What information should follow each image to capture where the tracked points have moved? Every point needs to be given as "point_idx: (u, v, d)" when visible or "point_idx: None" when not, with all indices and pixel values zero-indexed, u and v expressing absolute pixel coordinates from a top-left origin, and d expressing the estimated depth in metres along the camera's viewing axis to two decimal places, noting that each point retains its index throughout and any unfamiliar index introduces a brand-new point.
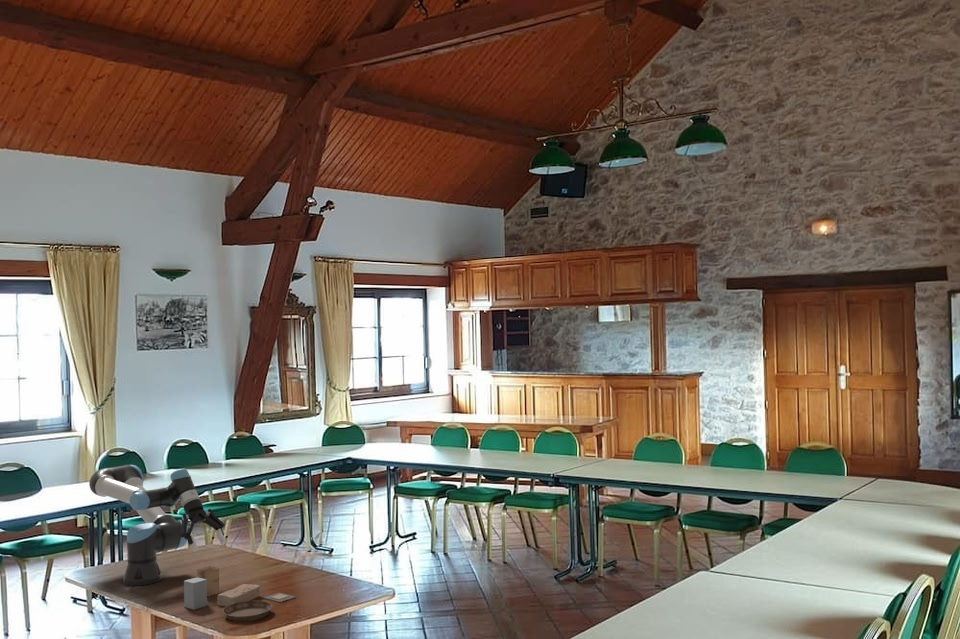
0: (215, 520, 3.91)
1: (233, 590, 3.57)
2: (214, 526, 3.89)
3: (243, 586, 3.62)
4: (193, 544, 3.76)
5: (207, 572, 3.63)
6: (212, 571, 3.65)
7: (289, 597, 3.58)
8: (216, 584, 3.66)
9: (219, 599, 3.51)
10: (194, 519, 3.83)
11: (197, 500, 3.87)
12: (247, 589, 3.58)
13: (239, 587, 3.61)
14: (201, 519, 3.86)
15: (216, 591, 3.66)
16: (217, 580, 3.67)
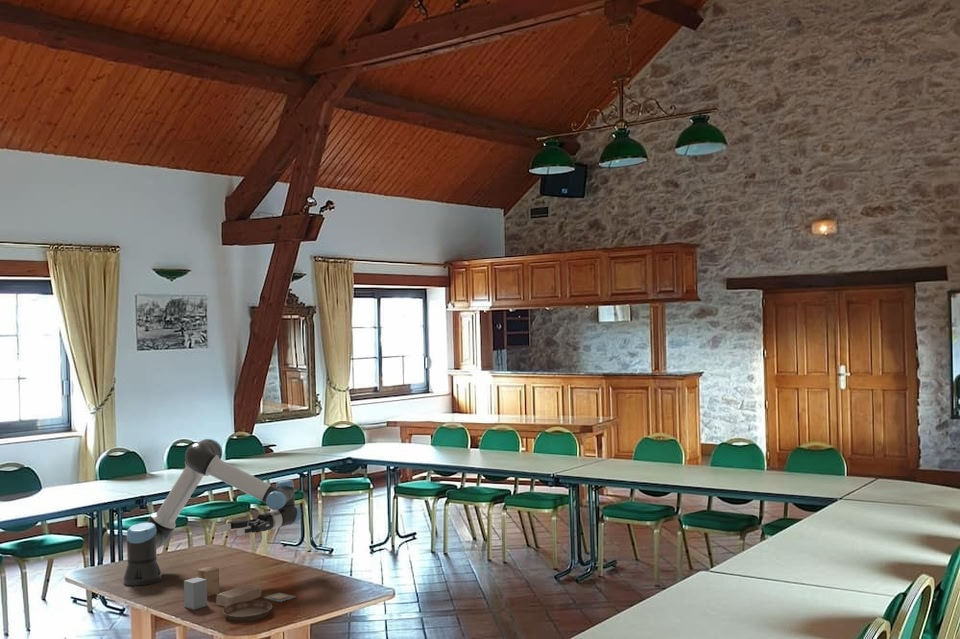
0: None
1: (233, 590, 3.58)
2: (235, 525, 3.85)
3: (245, 586, 3.62)
4: (243, 532, 3.73)
5: (207, 572, 3.63)
6: (212, 571, 3.65)
7: (289, 597, 3.58)
8: (216, 584, 3.66)
9: (218, 598, 3.51)
10: None
11: None
12: (247, 589, 3.58)
13: (240, 587, 3.61)
14: (251, 527, 3.85)
15: (216, 591, 3.66)
16: (217, 580, 3.67)
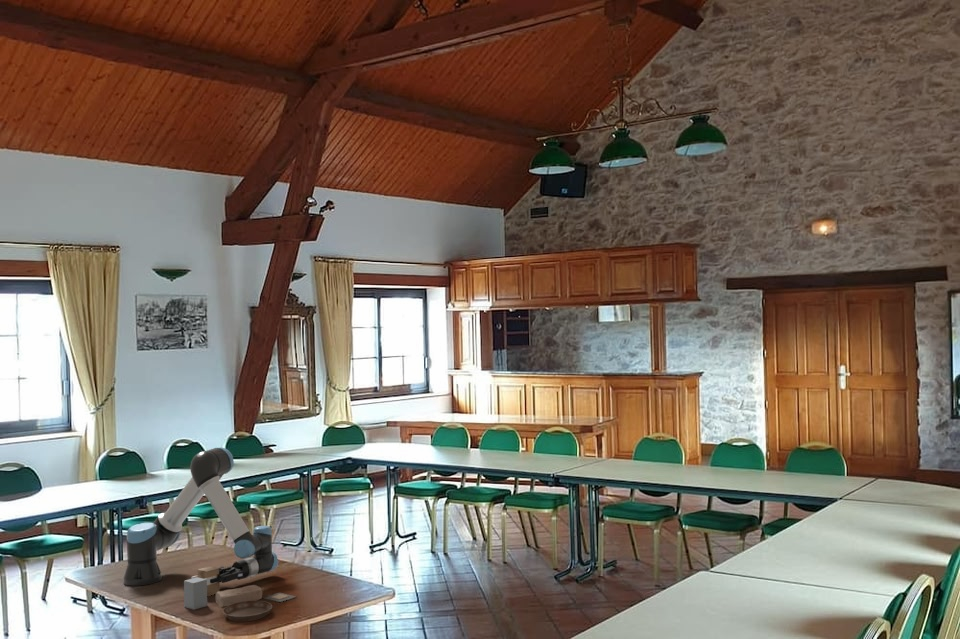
0: None
1: (235, 589, 3.58)
2: None
3: (249, 587, 3.61)
4: (208, 582, 3.63)
5: (207, 572, 3.63)
6: (212, 571, 3.65)
7: (289, 597, 3.58)
8: (216, 584, 3.66)
9: (216, 596, 3.54)
10: None
11: None
12: (247, 590, 3.56)
13: (244, 587, 3.60)
14: None
15: (216, 591, 3.66)
16: None
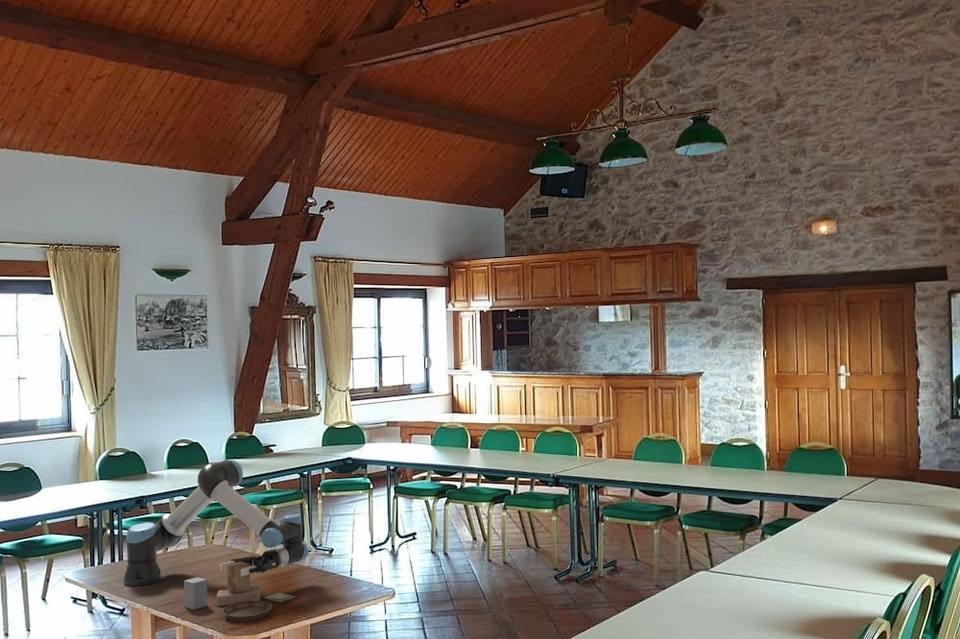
0: None
1: None
2: None
3: (251, 588, 3.59)
4: (247, 572, 3.52)
5: (237, 567, 3.53)
6: (243, 566, 3.55)
7: (289, 597, 3.58)
8: (247, 580, 3.56)
9: None
10: None
11: None
12: (245, 592, 3.55)
13: None
14: (256, 565, 3.65)
15: (247, 587, 3.56)
16: (248, 576, 3.56)
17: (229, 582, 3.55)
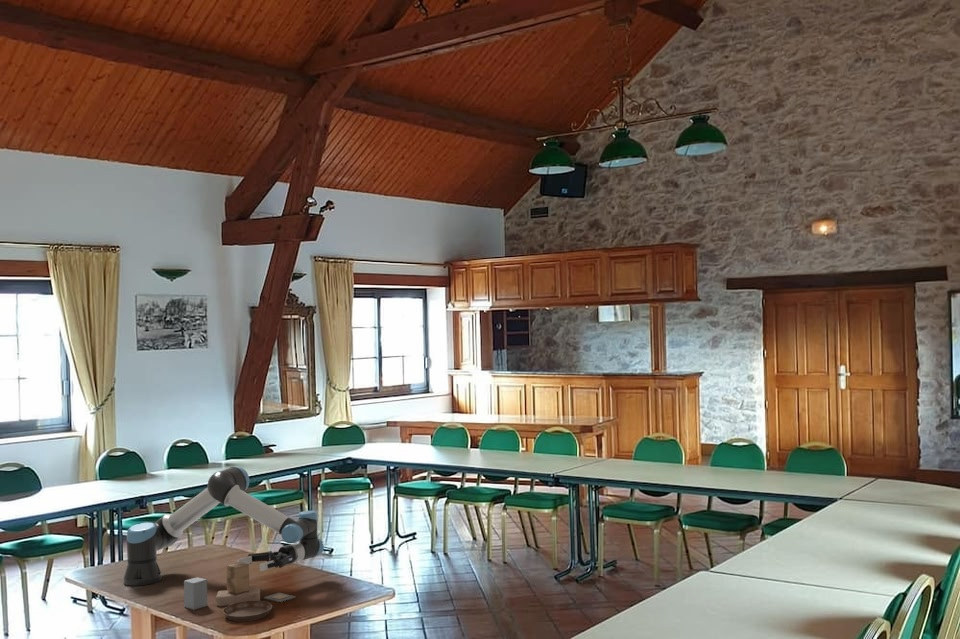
0: None
1: None
2: (256, 558, 3.71)
3: (251, 589, 3.58)
4: (266, 567, 3.58)
5: (237, 568, 3.52)
6: (242, 567, 3.54)
7: (289, 597, 3.58)
8: (246, 581, 3.55)
9: None
10: None
11: None
12: (244, 593, 3.54)
13: None
14: (273, 560, 3.70)
15: (246, 588, 3.55)
16: (247, 576, 3.56)
17: (228, 583, 3.55)
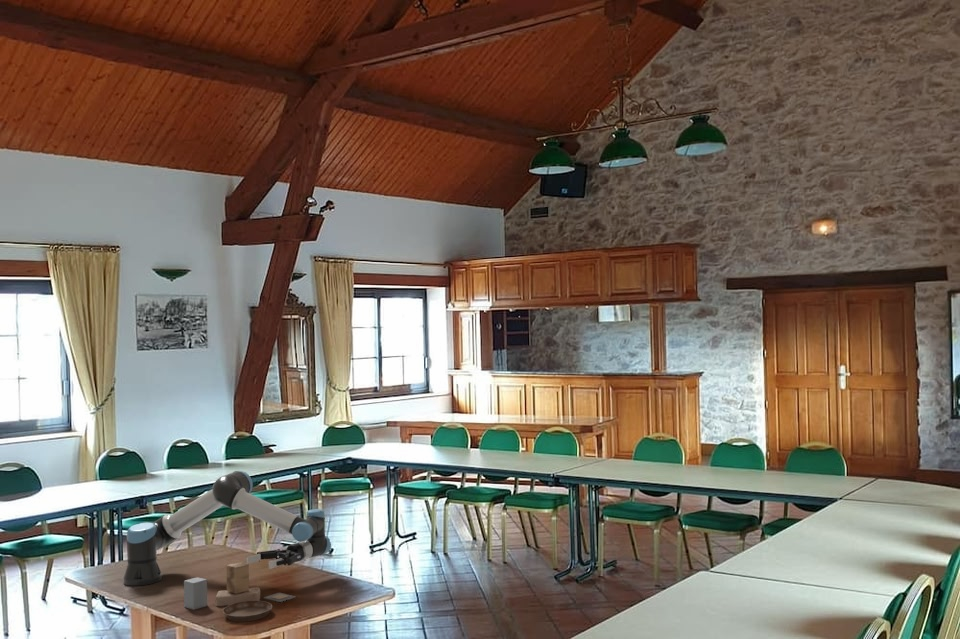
0: None
1: None
2: (265, 556, 3.75)
3: (250, 589, 3.58)
4: (275, 564, 3.62)
5: (236, 568, 3.52)
6: (241, 567, 3.54)
7: (289, 597, 3.58)
8: (246, 581, 3.55)
9: None
10: None
11: None
12: (244, 593, 3.54)
13: None
14: (281, 558, 3.75)
15: (246, 588, 3.55)
16: (247, 576, 3.55)
17: (228, 583, 3.55)
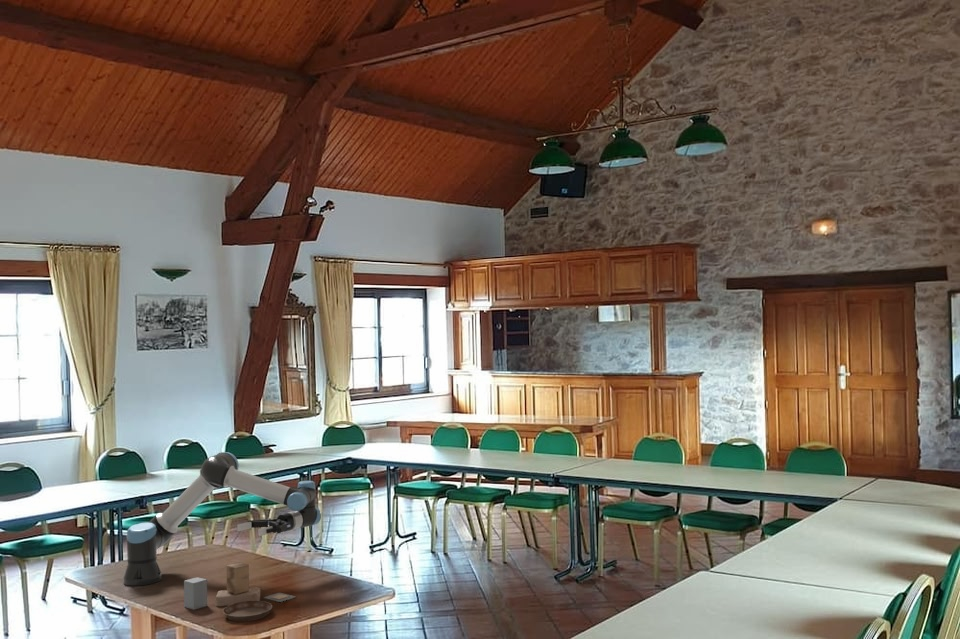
0: None
1: None
2: (256, 525, 3.83)
3: (250, 589, 3.58)
4: (264, 532, 3.71)
5: (236, 568, 3.51)
6: (242, 567, 3.53)
7: (289, 597, 3.58)
8: (246, 581, 3.55)
9: None
10: None
11: None
12: (244, 593, 3.54)
13: None
14: (271, 527, 3.83)
15: (246, 588, 3.55)
16: (247, 577, 3.55)
17: (228, 583, 3.54)
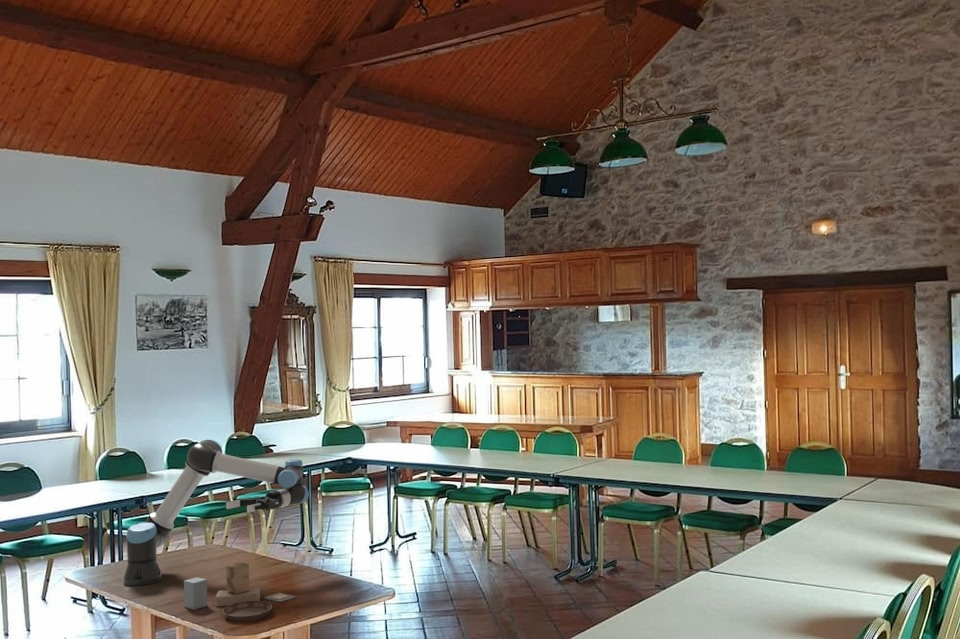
0: None
1: None
2: (244, 503, 3.89)
3: (250, 589, 3.58)
4: (253, 508, 3.77)
5: (236, 568, 3.52)
6: (242, 567, 3.54)
7: (289, 597, 3.58)
8: (246, 581, 3.55)
9: None
10: None
11: None
12: (244, 593, 3.53)
13: None
14: None
15: (246, 588, 3.55)
16: (247, 576, 3.55)
17: (228, 583, 3.54)
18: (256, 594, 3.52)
